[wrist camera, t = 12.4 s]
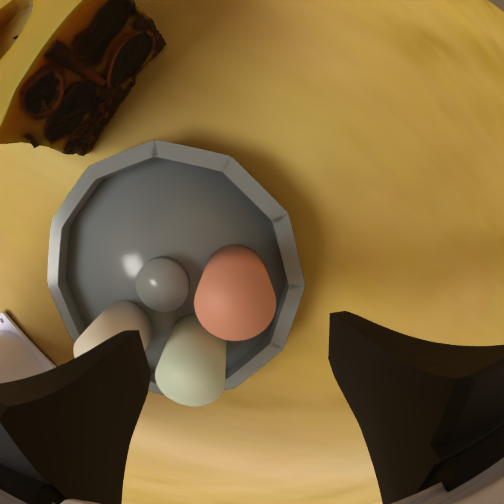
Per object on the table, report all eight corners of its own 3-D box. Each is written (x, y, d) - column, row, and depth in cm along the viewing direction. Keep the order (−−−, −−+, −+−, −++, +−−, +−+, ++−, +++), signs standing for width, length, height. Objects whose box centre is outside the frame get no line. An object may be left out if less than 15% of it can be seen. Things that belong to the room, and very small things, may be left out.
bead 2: (278, 280, 19) (291, 311, 14) (229, 314, 20) (228, 353, 15) (241, 231, 18) (243, 248, 14) (191, 268, 19) (177, 297, 14)
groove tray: (185, 409, 23) (182, 426, 20) (33, 274, 19) (18, 282, 17) (342, 274, 20) (353, 284, 18) (165, 97, 17) (157, 88, 15)
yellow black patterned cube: (169, 44, 16) (128, -39, 6) (89, 160, 18) (-7, 151, 8) (82, 10, 14) (25, -46, 5) (16, 109, 16) (-66, 91, 6)
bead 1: (102, 340, 20) (75, 376, 15) (104, 293, 19) (71, 324, 14) (150, 354, 20) (132, 396, 15) (155, 308, 19) (134, 344, 14)
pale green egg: (201, 370, 21) (194, 415, 16) (160, 337, 20) (141, 378, 15) (238, 338, 20) (239, 382, 15) (195, 302, 19) (184, 339, 14)
